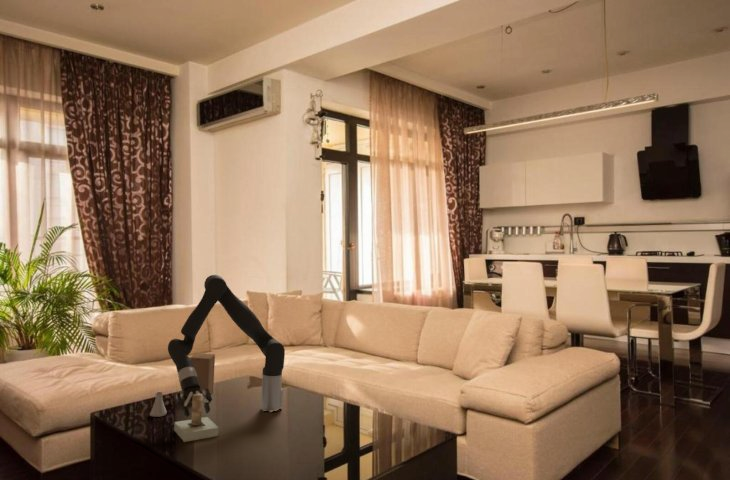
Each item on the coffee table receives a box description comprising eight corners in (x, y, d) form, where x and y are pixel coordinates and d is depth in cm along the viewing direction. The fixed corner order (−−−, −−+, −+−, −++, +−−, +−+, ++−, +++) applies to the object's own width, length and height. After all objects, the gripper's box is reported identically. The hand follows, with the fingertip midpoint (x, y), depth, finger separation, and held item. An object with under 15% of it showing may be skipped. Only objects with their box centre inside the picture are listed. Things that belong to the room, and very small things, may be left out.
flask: (160, 418, 242) (161, 395, 242) (146, 416, 244) (147, 394, 244) (169, 412, 249) (170, 391, 249) (155, 411, 251) (156, 389, 251)
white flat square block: (206, 424, 237) (207, 416, 237) (218, 435, 226) (218, 427, 226) (174, 430, 229) (174, 422, 229) (184, 441, 218) (184, 433, 218)
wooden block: (207, 398, 273) (209, 358, 272) (187, 397, 273) (189, 357, 273) (213, 392, 283) (215, 354, 282) (194, 391, 283) (196, 352, 283)
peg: (199, 430, 230) (200, 393, 230) (202, 433, 227) (204, 395, 227) (189, 432, 228) (191, 394, 228) (192, 435, 225) (194, 397, 224)
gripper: (174, 377, 228) (184, 412, 220) (207, 373, 237) (217, 406, 229) (169, 386, 232) (178, 421, 224) (201, 382, 241) (211, 415, 233)
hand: (198, 414), depth 226 cm, fingers open, 8 cm apart
